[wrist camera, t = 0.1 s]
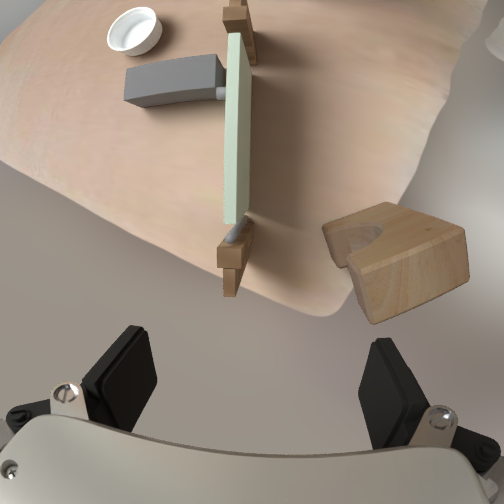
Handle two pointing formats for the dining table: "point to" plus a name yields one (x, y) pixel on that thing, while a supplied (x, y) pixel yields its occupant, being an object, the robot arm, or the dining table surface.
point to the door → (236, 135)
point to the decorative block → (397, 258)
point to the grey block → (174, 81)
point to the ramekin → (135, 32)
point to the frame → (238, 252)
